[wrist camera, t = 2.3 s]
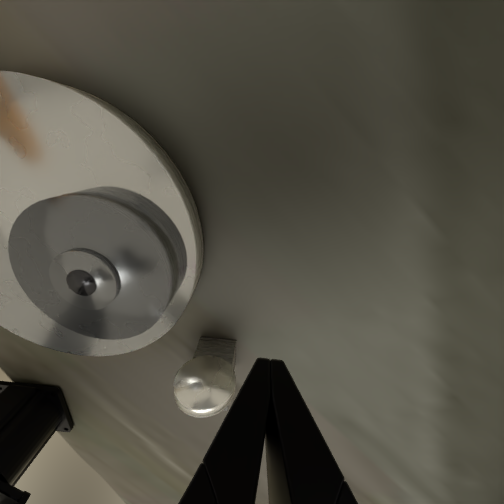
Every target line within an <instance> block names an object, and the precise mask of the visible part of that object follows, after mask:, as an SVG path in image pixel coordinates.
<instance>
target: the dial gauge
mask: <svg viewBox="0 0 504 504" xmlns="http://www.w3.org/2000/svg"><path fill="white" fill-rule="evenodd" d="M235 355H236V340H228V339H218V338H209V337H201V338H200V341H199V343H198V346H197V349H196V352H195V354H194V357H193V359H191V360H190V361H188V362H187V363H185V364H184V365H183V366H182V367H181V368H180V369H179V371H178V372H177V374H176V377H175V380H174V395H175V400H176V403H177V405H178V407H179V408H180V409H181V410H182V411H183V412H184V413H186V414H187V415H189V416H192V417H197V418H205V417H210V416H213V415H216V414H218V413H220V412H221V411H223V410H224V411H228V405H229V404H230V402H231V400H232V399H233V396H234V393H235V382H236V377H235V372H234V369H235Z"/></svg>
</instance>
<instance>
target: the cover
mask: <svg viewBox="0 0 504 504" xmlns="http://www.w3.org/2000/svg"><path fill="white" fill-rule="evenodd" d="M8 253H9V259H10V263H11V267H12V270H13V272H14V275H15V277H16V279H17V281H18V283H19V285H20V286H21V288H22V289H23V291H24V292H25V294H26V295H27V296H28V298H29V299H30V300H31V301H32V302H33V303H34V304H35V305H36V306H37V307H38V308H39V309H40V310H41V311H42V312H43V313H45V314H46V315H47V316H48V317H49V318H51V319H52V320H54V321H55V322H57V323H58V324H60V325H62V326H64V327H66V328H67V329H70V330H72V331H74V332H76V333H79V334H82V335H85V336H89V337H93V338H98V339H106V340H118V339H126V338H131V337H134V336H137V335H139V334H141V333H144V332H145V331H147V330H148V329H150V328H151V327H152V326H153V325H154V324H155V323H156V322H157V321H158V320H159V318H160V317H161V316H162V314H163V313H164V311H165V310H166V308H167V306H168V305H169V303H170V302H171V300H172V299H173V297H174V296H175V294H176V292H177V291H178V289H179V288H180V286H181V284H182V282H183V280H184V277H185V275H186V270H187V253H186V248H185V244H184V241H183V239H182V236H181V234H180V232H179V230H178V228H177V227H176V225H175V224H174V222H173V221H172V220H171V218H170V217H169V216H168V215H167V214H166V213H165V212H164V211H163V210H162V209H161V208H160V207H159V206H158V205H156V204H155V203H154V202H152V201H151V200H149V199H148V198H146V197H144V196H142V195H141V194H138V193H136V192H133V191H131V190H127V189H124V188H119V187H113V186H102V187H94V188H90V189H86V190H81V191H77V192H73V193H68V194H64V195H60V196H56V197H51V198H48V199H44V200H41V201H38V202H36V203H34V204H32V205H30V206H29V207H28V208H26V209H25V210H24V211H23V212H22V213H21V214H20V215H19V216H18V217H17V219H16V220H15V222H14V224H13V226H12V228H11V231H10V235H9V241H8Z"/></svg>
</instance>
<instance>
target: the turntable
mask: <svg viewBox="0 0 504 504" xmlns="http://www.w3.org/2000/svg"><path fill="white" fill-rule="evenodd" d="M102 186H113V187H119V188H124V189H127V190H131V191H133V192H136V193H138V194H141V195H142V196H144V197H146V198H148V199H149V200H151V201H152V202H154V203H155V204H156V205H158V206H159V207H160V208H161V209H162V210H163V211H164V212H165V213H166V214H167V215H168V216H169V217H170V218H171V220H172V221H173V222H174V224H175V225H176V227H177V228H178V230H179V232H180V234H181V236H182V239H183V241H184V244H185V248H186V253H187V270H186V275H185V277H184V280H183V282H182V284H181V286H180V288H179V289H178V291H177V292H176V294H175V296H174V297H173V299H172V300H171V302H170V303H169V305H168V306H167V308H166V310H165V311H164V313H163V314H162V316H161V317H160V318H159V320H158V321H157V322H156V323H155V324H154V325H153V326H152V327H151V328H150V329H148V330H147V331H145V332H144V333H141V334H139V335H137V336H134V337H131V338H126V339H118V340H106V339H98V338H93V337H89V336H85V335H82V334H79V333H76V332H74V331H72V330H70V329H67V328H66V327H64V326H62V325H60V324H58V323H57V322H55V321H54V320H52V319H51V318H49V317H48V316H47V315H46V314H45V313H43V312H42V311H41V310H40V309H39V308H38V307H37V306H36V305H35V304H34V303H33V302H32V301H31V300H30V299H29V298H28V296H27V295H26V294H25V292H24V291H23V289H22V288H21V286H20V285H19V283H18V281H17V279H16V277H15V275H14V272H13V270H12V267H11V263H10V259H9V253H8V241H9V235H10V231H11V228H12V226H13V224H14V222H15V220H16V219H17V217H18V216H19V215H20V214H21V213H22V212H23V211H24V210H25V209H26V208H28V207H29V206H30V205H32V204H34V203H36V202H38V201H41V200H44V199H48V198H51V197H56V196H60V195H64V194H68V193H73V192H77V191H81V190H86V189H90V188H94V187H102ZM202 263H203V234H202V226H201V222H200V218H199V214H198V211H197V207H196V205H195V202H194V199H193V197H192V194H191V192H190V189H189V188H188V186H187V184H186V182H185V180H184V178H183V177H182V175H181V173H180V171H179V170H178V168H177V167H176V165H175V164H174V163H173V161H172V160H171V158H170V157H169V155H168V154H167V153H166V152H165V150H164V149H163V148H162V147H161V146H160V145H159V144H158V143H157V141H156V140H155V139H154V138H153V137H152V136H151V135H150V134H149V133H148V132H147V131H146V130H144V129H143V128H142V127H141V126H140V125H139V124H138V123H137V122H136V121H134V120H133V119H132V118H130V117H129V116H127V115H126V114H125V113H123V112H122V111H120V110H119V109H118V108H116V107H115V106H113V105H111V104H109V103H107V102H105V101H104V100H102V99H100V98H98V97H96V96H94V95H92V94H89V93H87V92H84V91H82V90H79V89H77V88H74V87H70V86H67V85H64V84H60V83H57V82H54V81H50V80H47V79H44V78H40V77H35V76H31V75H27V74H23V73H19V72H10V71H0V326H2V327H3V328H5V329H7V330H8V331H10V332H12V333H14V334H16V335H18V336H20V337H22V338H24V339H26V340H29V341H31V342H33V343H36V344H38V345H41V346H44V347H47V348H50V349H53V350H57V351H61V352H66V353H70V354H77V355H85V356H110V355H118V354H123V353H128V352H132V351H135V350H138V349H141V348H143V347H145V346H147V345H149V344H151V343H153V342H155V341H156V340H157V339H159V338H160V337H162V336H163V335H164V334H165V333H167V332H168V331H169V330H170V329H171V328H172V327H173V326H174V324H175V323H176V322H177V320H178V319H179V318H180V316H181V315H182V313H183V311H184V309H185V308H186V306H187V304H188V302H189V300H190V298H191V296H192V294H193V292H194V290H195V288H196V286H197V283H198V280H199V277H200V274H201V269H202Z"/></svg>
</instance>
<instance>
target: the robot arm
mask: <svg viewBox="0 0 504 504" xmlns="http://www.w3.org/2000/svg"><path fill="white" fill-rule="evenodd" d="M72 428H73V423H72V420H71V418H70V415H69V412H68V409H67V406H66V403H65V401H64V398H63V395H62V392H61V390H60V389H59V388H56V387H49V386H41V385H32V384H23V383H15V382H5V381H0V504H25V503H26V502H27V500H28V498H29V497H30V495H31V494H30V493H28V492H26V491H24V492H23V491H21V490H19V489H17V488H16V487H14V485H15V484H16V483H17V481H18V480H19V479H20V477H21V476H22V475H23V474H24V472H25V471H26V470H27V468H28V467H29V466H30V464H31V463H32V462H33V460H34V459H35V458H36V456H37V455H38V454H39V452H40V451H41V450H42V448H43V447H44V446H45V444H46V443H47V442H48V440H49V439H50V438H51V436H52V435H53V434H54V433H55V431H62V432H70V431H71V430H72ZM264 439H265V445H266V462H267V478H268V495H269V504H358V503H357V501H356V499H355V497H354V495H353V493H352V491H351V489H350V487H349V485H348V484H347V482H346V481H344V476H343V474H342V472H341V470H340V469H339V467H338V465H337V463H336V461H335V459H334V457H333V455H332V453H331V451H330V449H329V447H328V445H327V444H326V442H325V440H324V438H323V436H322V434H321V432H320V430H319V428H318V426H317V424H316V422H315V421H314V419H313V417H312V415H311V413H310V411H309V409H308V407H307V405H306V403H305V401H304V399H303V398H302V396H301V394H300V392H299V390H298V388H297V386H296V384H295V382H294V380H293V378H292V376H291V375H290V373H289V371H288V369H287V367H286V365H285V363H284V362H283V361H282V360H277V359H271V360H269V359H267V358H257V359H256V361H255V363H254V365H253V367H252V369H251V371H250V373H249V374H248V376H247V378H246V380H245V382H244V384H243V386H242V387H241V389H240V391H239V393H238V395H237V397H236V399H235V401H234V402H233V404H232V406H231V408H230V410H229V412H228V414H227V416H226V417H225V419H224V421H223V423H222V425H221V427H220V429H219V430H218V432H217V434H216V436H215V438H214V440H213V442H212V444H211V445H210V447H209V449H208V451H207V453H206V455H205V457H204V459H203V463H201V464H200V466H199V468H198V469H197V471H196V473H195V475H194V477H193V479H192V481H191V482H190V484H189V486H188V488H187V489H186V491H185V493H184V495H183V496H182V498H181V500H180V502H179V503H178V504H255V500H256V493H257V486H258V480H259V473H260V466H261V460H262V453H263V446H264Z"/></svg>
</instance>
